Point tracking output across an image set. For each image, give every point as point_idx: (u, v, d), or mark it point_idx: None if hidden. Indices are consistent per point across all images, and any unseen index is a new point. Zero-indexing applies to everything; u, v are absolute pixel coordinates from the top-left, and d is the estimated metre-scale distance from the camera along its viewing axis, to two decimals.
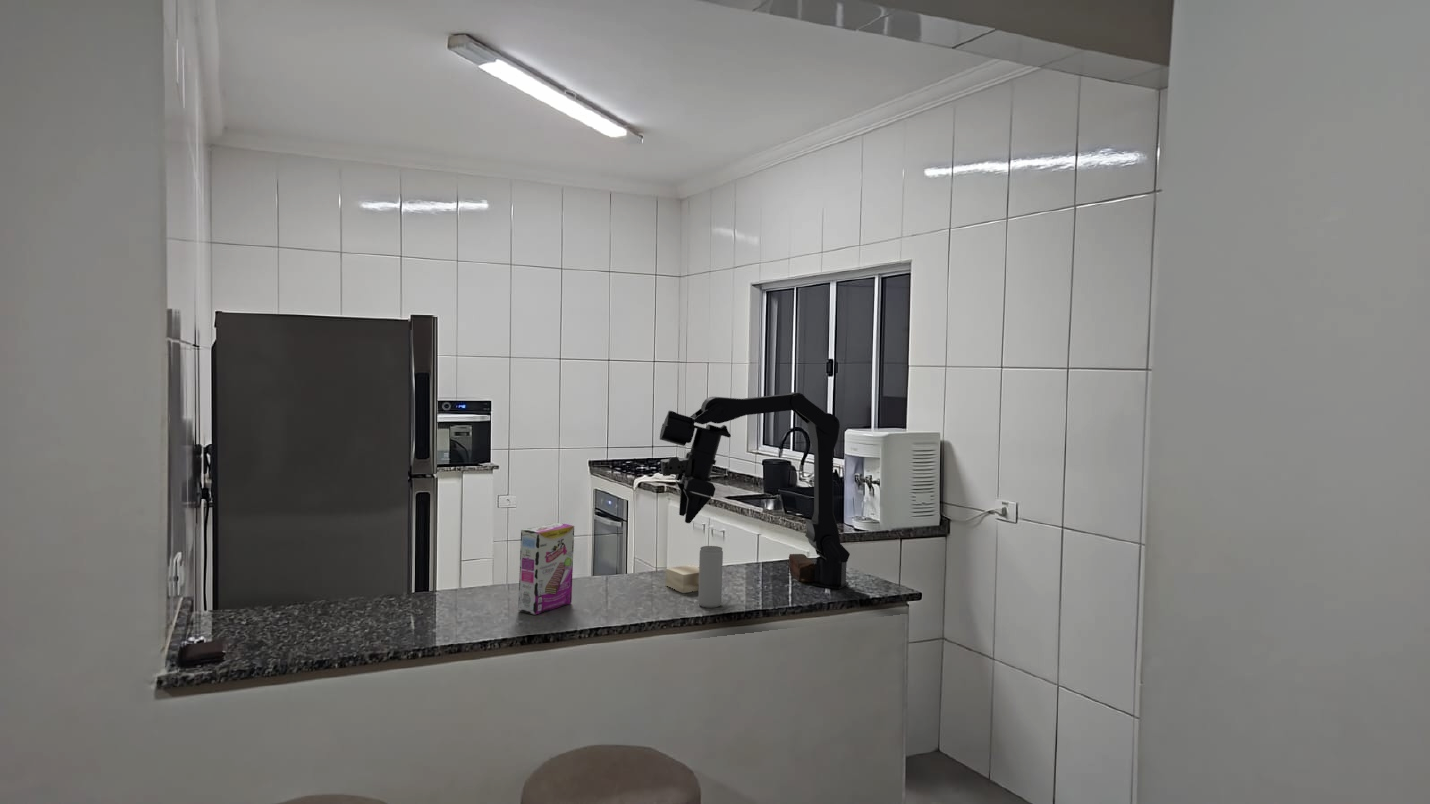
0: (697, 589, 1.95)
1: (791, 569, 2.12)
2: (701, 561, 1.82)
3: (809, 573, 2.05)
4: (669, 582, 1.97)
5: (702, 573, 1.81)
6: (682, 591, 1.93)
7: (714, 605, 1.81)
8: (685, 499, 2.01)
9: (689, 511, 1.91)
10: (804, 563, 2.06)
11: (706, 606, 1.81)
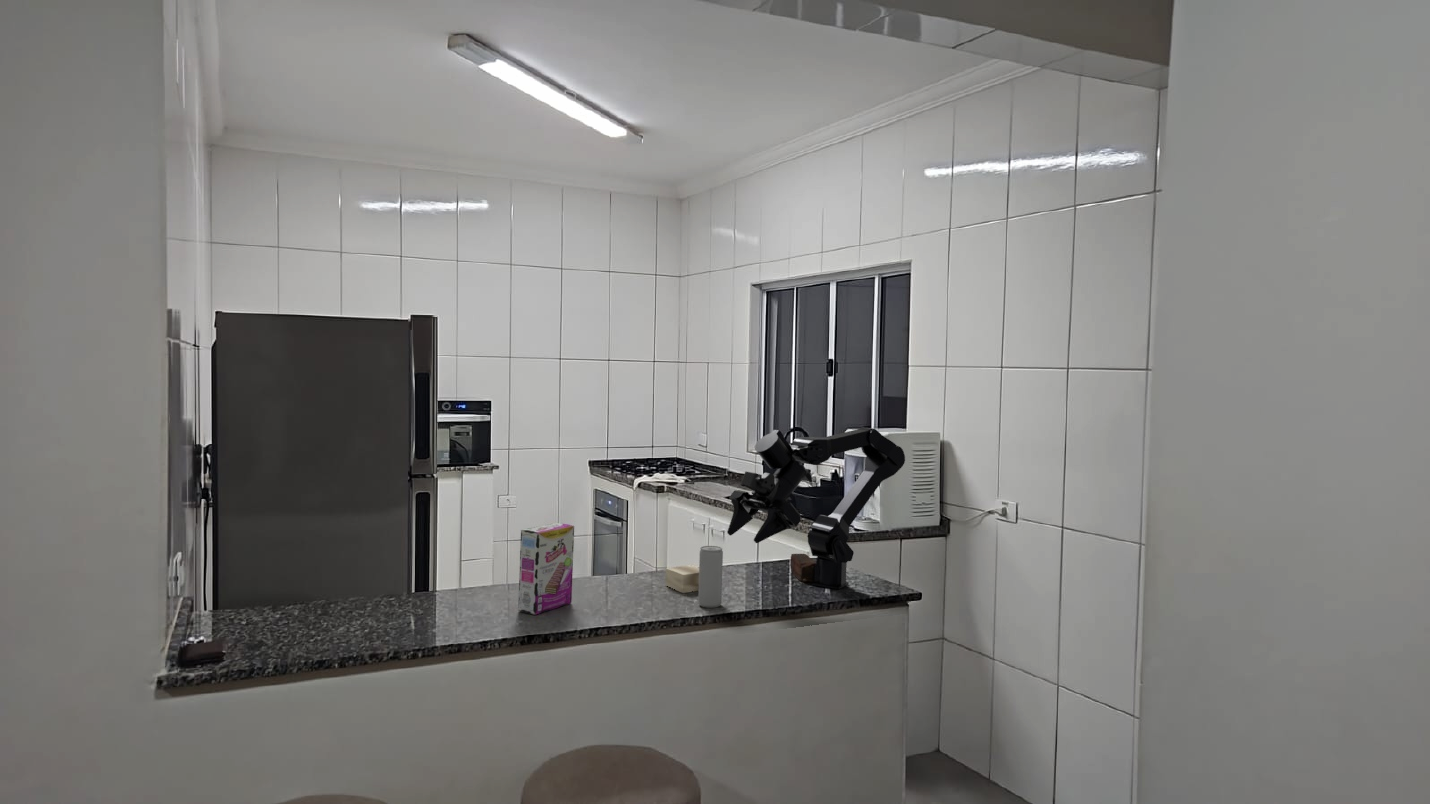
0: (697, 589, 1.95)
1: (793, 569, 2.12)
2: (701, 561, 1.82)
3: (811, 573, 2.05)
4: (669, 582, 1.97)
5: (702, 573, 1.81)
6: (682, 591, 1.93)
7: (714, 605, 1.81)
8: (738, 520, 1.93)
9: (763, 531, 1.84)
10: (806, 563, 2.06)
11: (706, 606, 1.81)
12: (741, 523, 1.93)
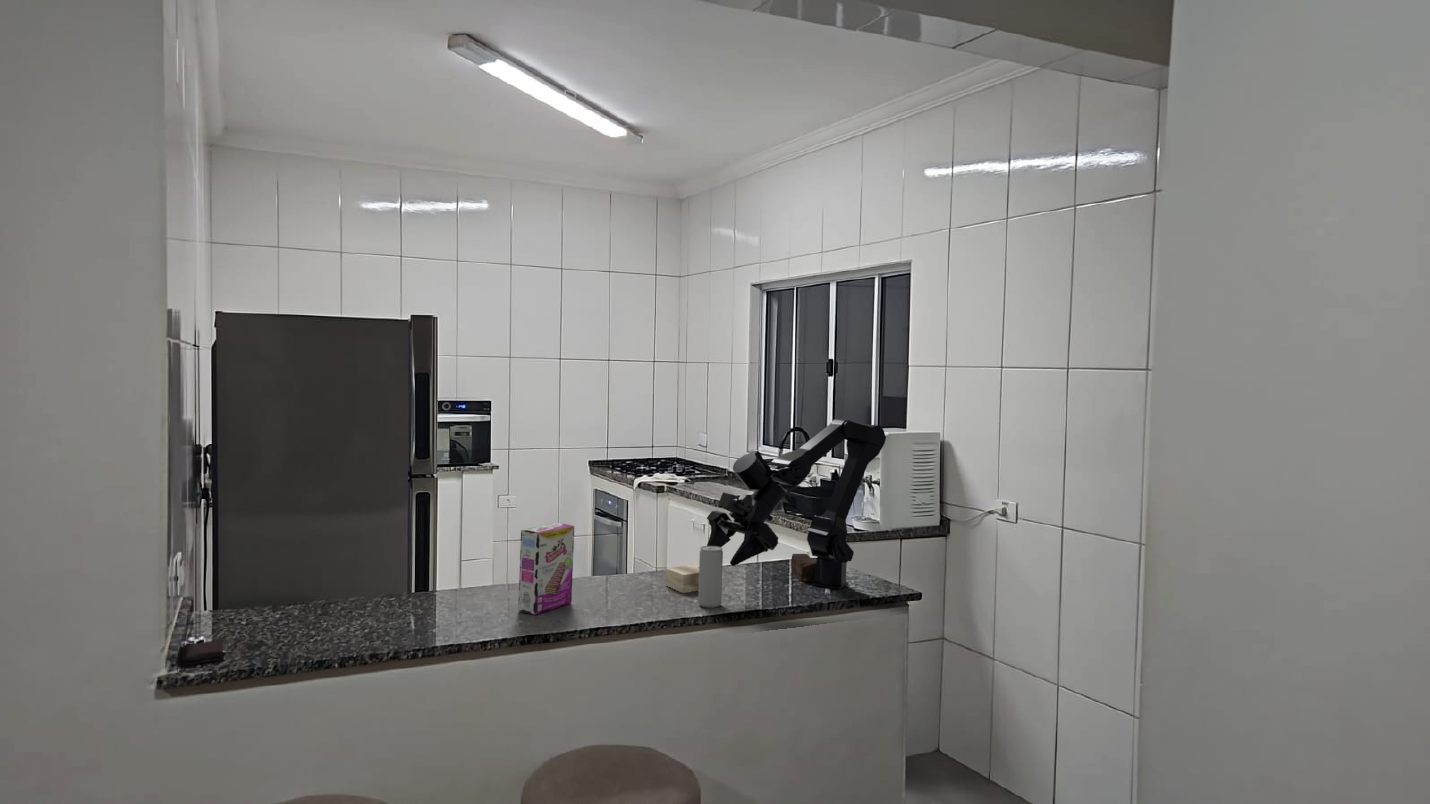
0: (697, 589, 1.95)
1: (794, 569, 2.13)
2: (701, 561, 1.82)
3: (811, 573, 2.05)
4: (669, 582, 1.97)
5: (702, 573, 1.81)
6: (682, 591, 1.93)
7: (714, 605, 1.81)
8: (715, 542, 1.89)
9: (740, 553, 1.80)
10: (806, 563, 2.06)
11: (706, 606, 1.81)
12: (718, 544, 1.90)
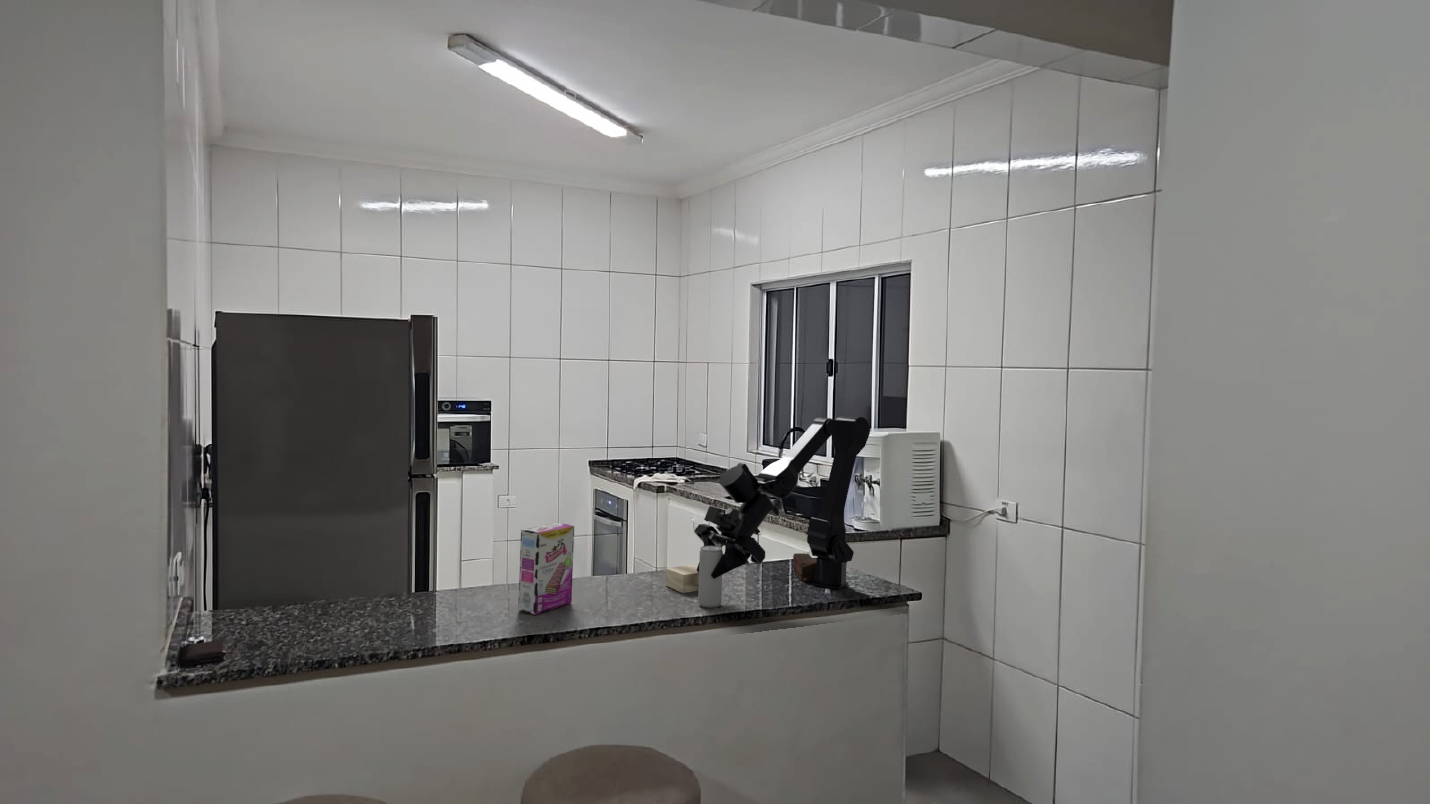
0: (697, 589, 1.95)
1: (795, 568, 2.13)
2: (701, 561, 1.82)
3: (812, 573, 2.06)
4: (669, 582, 1.97)
5: (702, 573, 1.81)
6: (682, 591, 1.93)
7: (714, 605, 1.81)
8: None
9: (721, 566, 1.80)
10: (806, 562, 2.06)
11: (706, 606, 1.81)
12: None
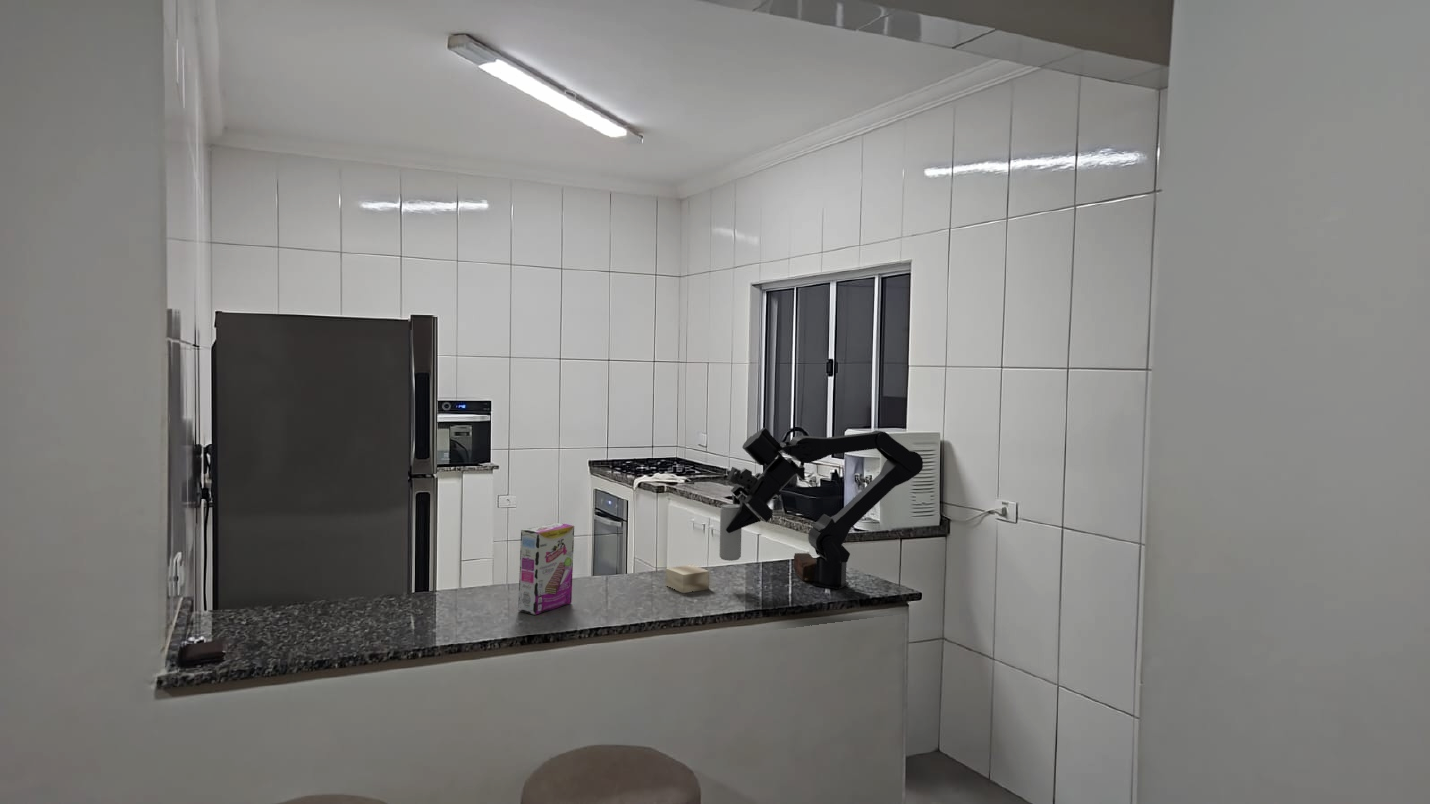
0: (697, 589, 1.95)
1: (796, 568, 2.13)
2: (720, 517, 1.97)
3: (813, 573, 2.06)
4: (669, 582, 1.97)
5: (720, 528, 1.97)
6: (682, 591, 1.93)
7: (730, 558, 1.96)
8: None
9: (734, 522, 1.95)
10: (808, 562, 2.07)
11: (723, 558, 1.97)
12: None
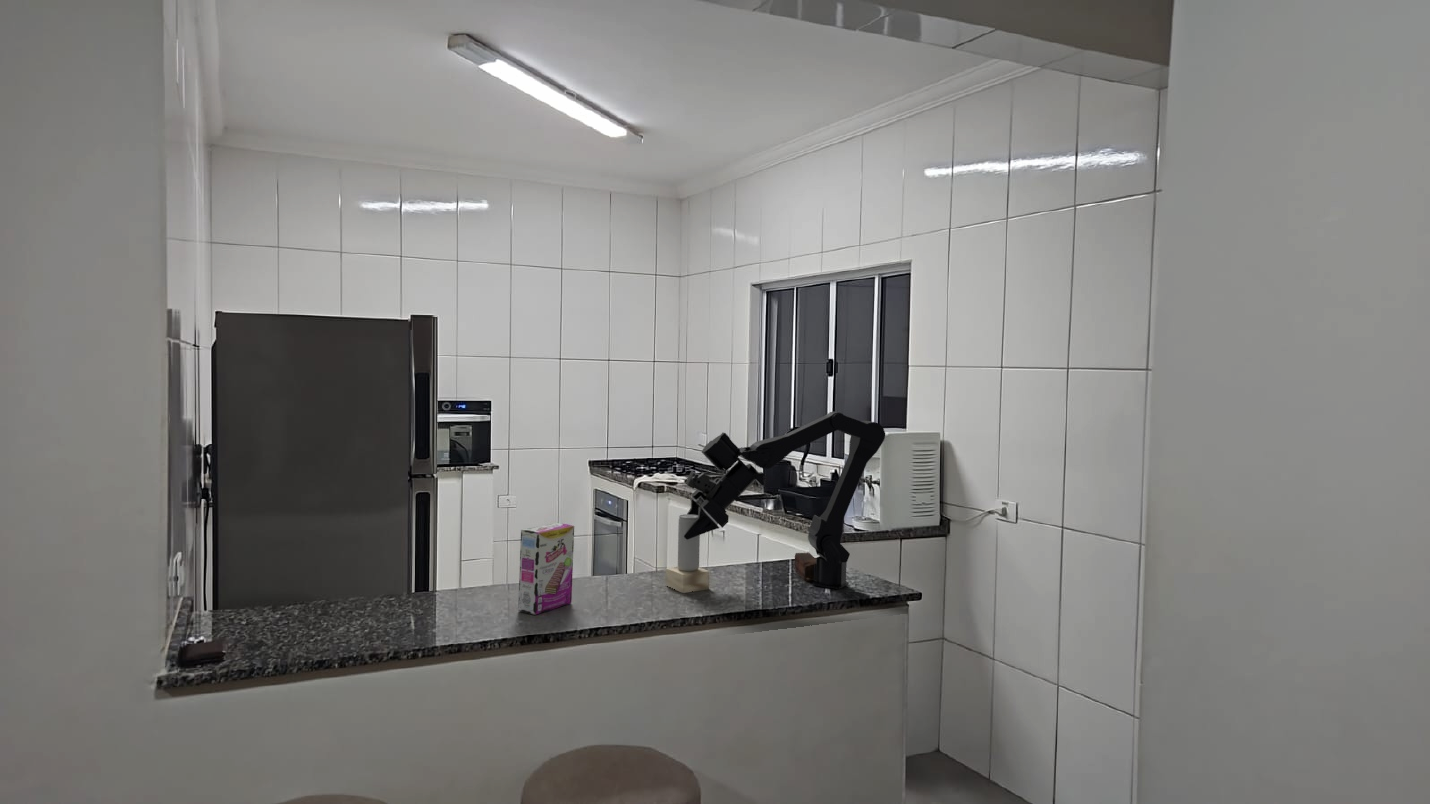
0: (697, 589, 1.95)
1: (797, 568, 2.13)
2: (678, 527, 1.97)
3: None
4: (669, 582, 1.97)
5: (678, 538, 1.96)
6: (682, 591, 1.93)
7: (687, 569, 1.95)
8: None
9: (693, 528, 1.91)
10: (809, 562, 2.07)
11: (681, 569, 1.96)
12: None
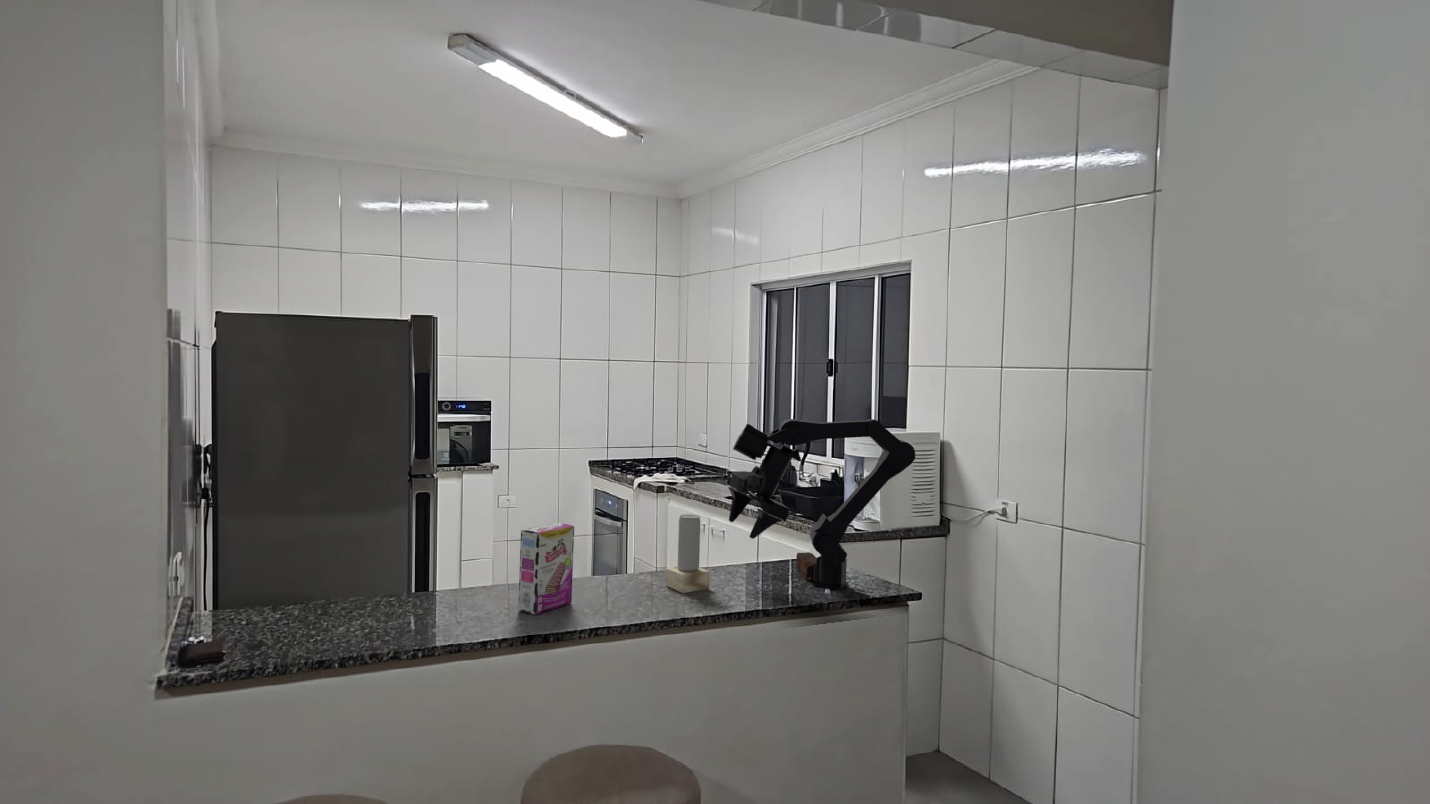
0: (697, 589, 1.95)
1: (798, 568, 2.14)
2: (679, 527, 1.97)
3: None
4: (669, 582, 1.97)
5: (679, 538, 1.96)
6: (682, 591, 1.93)
7: (687, 569, 1.95)
8: (737, 507, 2.06)
9: (757, 528, 1.98)
10: (811, 562, 2.08)
11: (681, 569, 1.96)
12: (741, 507, 2.07)
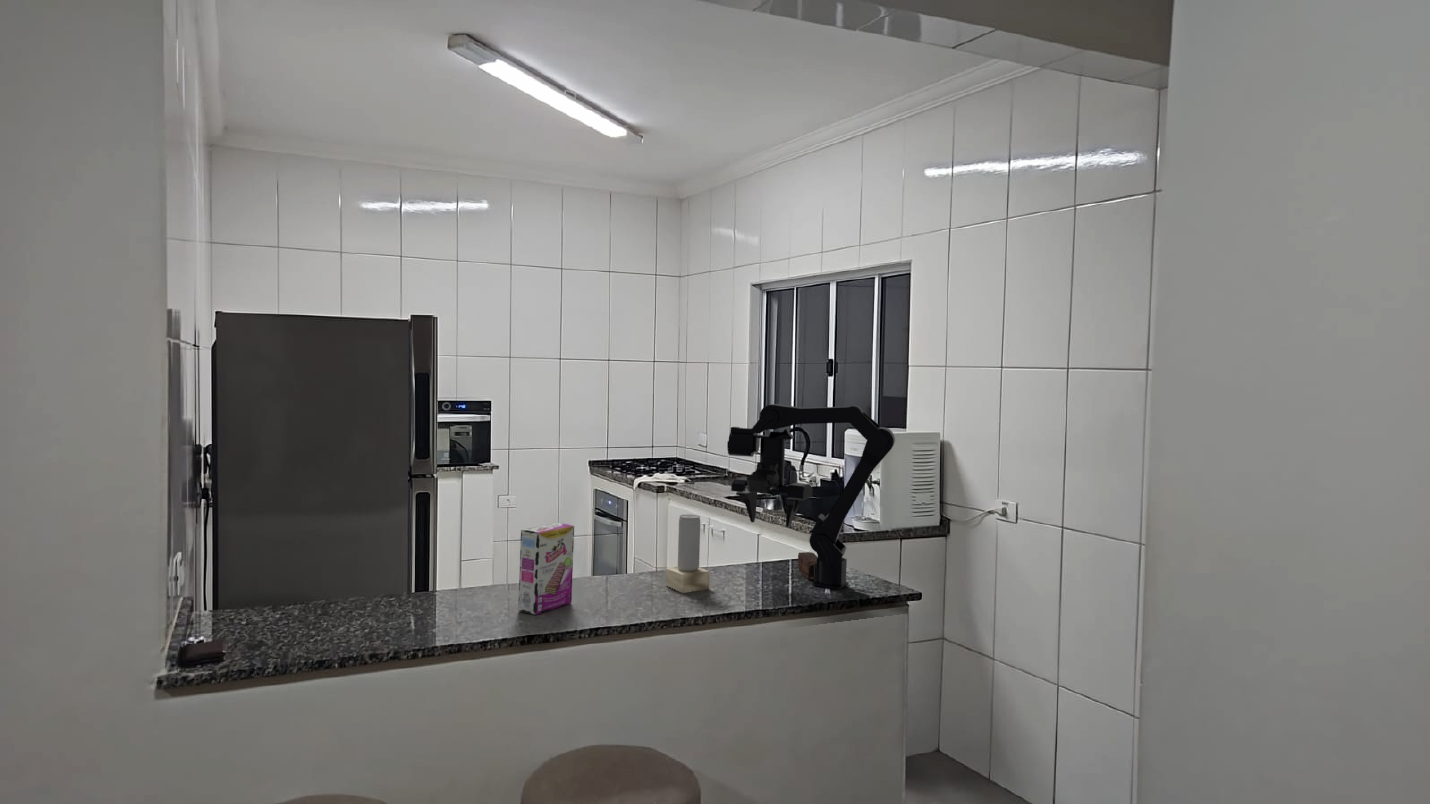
0: (697, 589, 1.95)
1: (800, 567, 2.14)
2: (679, 527, 1.97)
3: None
4: (669, 582, 1.97)
5: (679, 538, 1.96)
6: (682, 591, 1.93)
7: (687, 569, 1.95)
8: (752, 506, 2.08)
9: (790, 515, 2.03)
10: (813, 561, 2.08)
11: (681, 569, 1.96)
12: (754, 505, 2.09)
